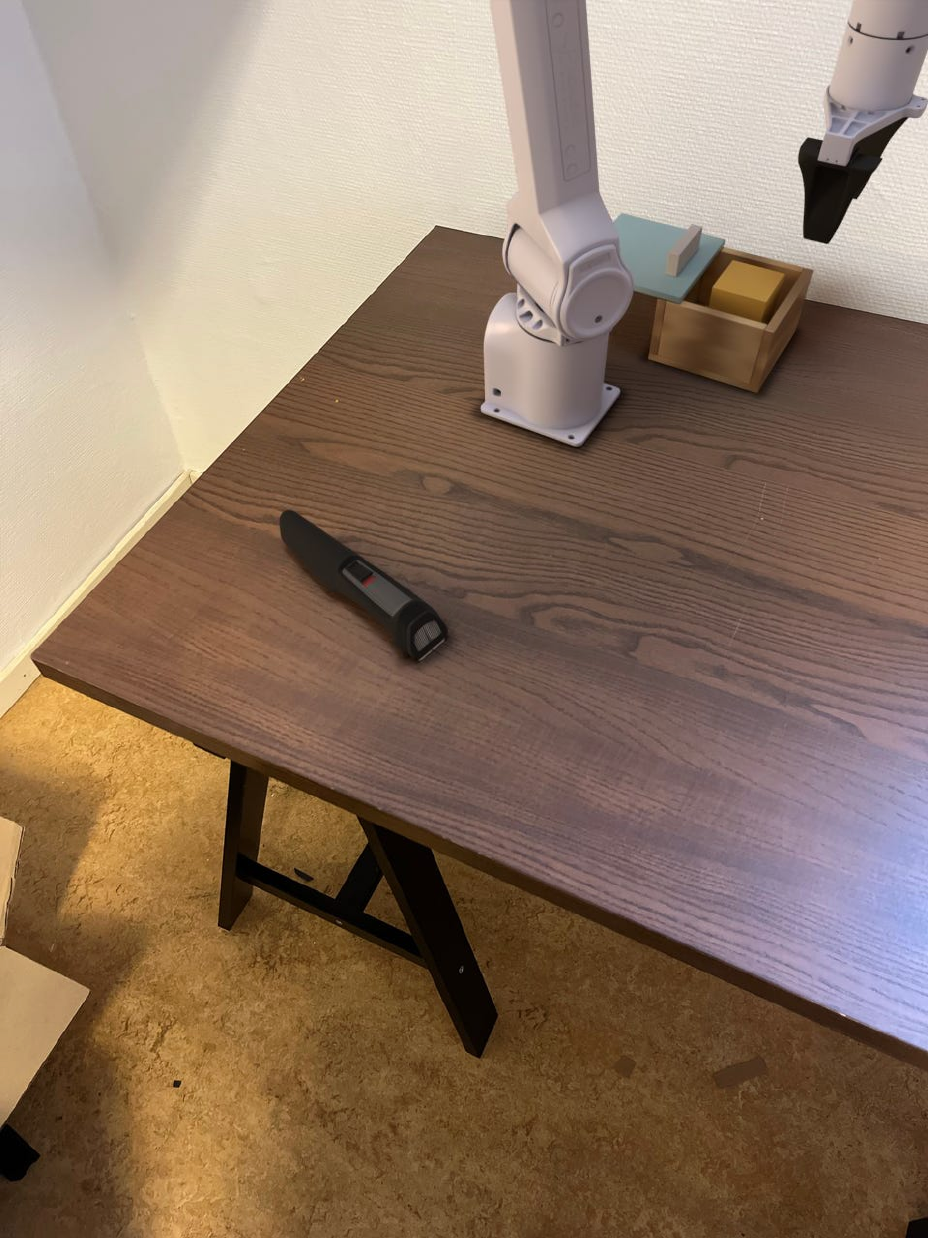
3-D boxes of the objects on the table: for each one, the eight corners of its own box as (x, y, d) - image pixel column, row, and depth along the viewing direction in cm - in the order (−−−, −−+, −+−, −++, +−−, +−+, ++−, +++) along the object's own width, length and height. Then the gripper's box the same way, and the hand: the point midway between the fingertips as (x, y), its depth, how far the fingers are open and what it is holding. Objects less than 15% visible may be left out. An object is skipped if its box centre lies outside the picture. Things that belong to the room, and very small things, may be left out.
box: (647, 359, 76) (657, 298, 71) (691, 301, 81) (702, 240, 76) (757, 393, 73) (774, 332, 68) (795, 330, 78) (814, 269, 73)
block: (699, 348, 76) (712, 286, 71) (718, 320, 78) (732, 259, 73) (749, 363, 74) (766, 301, 69) (768, 335, 77) (785, 273, 72)
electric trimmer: (312, 524, 66) (304, 494, 64) (452, 634, 59) (449, 606, 57) (273, 551, 65) (263, 522, 62) (412, 667, 58) (407, 640, 55)
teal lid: (571, 272, 74) (573, 244, 72) (620, 218, 79) (623, 190, 77) (679, 303, 71) (685, 274, 69) (724, 245, 76) (730, 216, 74)
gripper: (924, 74, 54) (855, 273, 65) (976, -5, 61) (905, 187, 72) (813, 55, 56) (764, 250, 67) (875, -19, 63) (822, 168, 74)
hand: (831, 216), depth 70 cm, fingers open, 7 cm apart
